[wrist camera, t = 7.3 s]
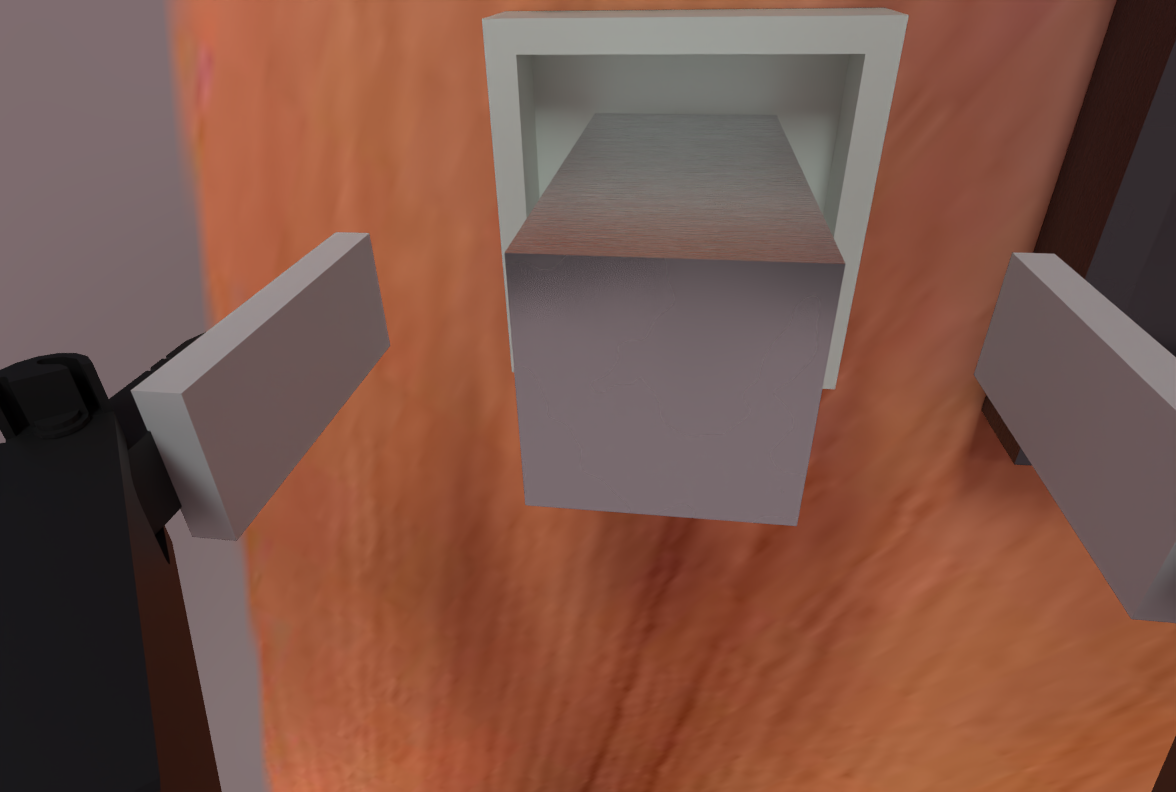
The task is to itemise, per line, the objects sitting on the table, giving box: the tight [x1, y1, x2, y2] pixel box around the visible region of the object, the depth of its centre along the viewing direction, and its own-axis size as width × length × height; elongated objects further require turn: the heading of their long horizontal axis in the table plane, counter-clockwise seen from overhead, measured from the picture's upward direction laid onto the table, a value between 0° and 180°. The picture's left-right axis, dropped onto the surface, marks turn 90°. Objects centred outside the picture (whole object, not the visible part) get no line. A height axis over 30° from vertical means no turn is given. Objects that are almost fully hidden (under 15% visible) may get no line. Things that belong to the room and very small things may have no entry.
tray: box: [482, 8, 909, 389], centre depth 20 cm, size 10×10×2 cm
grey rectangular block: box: [504, 113, 845, 526], centre depth 16 cm, size 5×5×11 cm
